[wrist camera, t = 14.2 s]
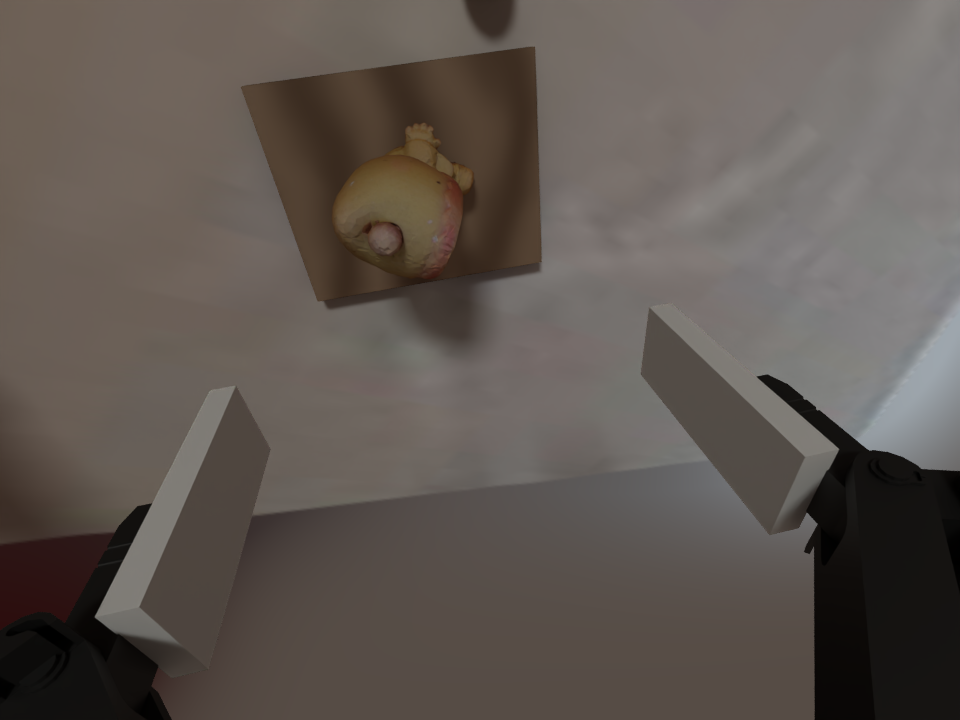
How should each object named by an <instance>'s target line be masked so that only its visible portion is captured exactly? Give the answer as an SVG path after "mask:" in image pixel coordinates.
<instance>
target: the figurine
mask: <svg viewBox="0 0 960 720" xmlns="http://www.w3.org/2000/svg"><path fill="white" fill-rule="evenodd" d="M433 131H434V129H433V127H432V126H430V125H428V124H426V123H421V124H419V123H415V124H414V125H413V127H411V126H408V127H407V128H406V129H405V143H406V144H405V146H399V147H397V148H394V149H393V150H391V151H390V152H388V153H386V154H385V155H384V156H381V157H378V158H374V159H371V160H369V161H367V162H365V163H363V164H362V165H361V166H359V167H358V168H357V169H356V170H355V171H354V172H353V173H352V174H351V176H350V177H349V178H348V180H347V181H346V183H345V184H344V186H343V187H342V189H341V190H340V192H339V193H338V195H337V197H336V199H335V201H334V204H333V207H332V224H333V228H334V232H335V234H336V236H337V238H338V240H339V241H340V242H341V243H342V245H343V246H344V247H345V248H346V249H347V250H348V251H349V252H350V253H351V254H353V255H354V256H355V257H357V258H358V259H360V260H362V261H364V262H367V263H369V264H371V265H373V266H376V267H378V268H380V269H381V270H383V271H385V272H387V273H390V274H395V275H397V276H402V277H408V278H410V279H412V278H416V277H418V278H423V279H433V278H436V277H438V276H440V274H441V273H442V271H443V270H444V268H445V266H447V264H448V261H449V258H450V256H451V254H452V252H453V250H454V248H455V245H456V241H457V237H458V233H459V228H460V224H461V220H462V216H463V195H466V194H467V193H469V191H470V189H471V187H472V184H473V179H474V173H473V171H472V170H471V169H469V168H467V167H465V166H464V165H461V164H458V163H456V162H450V161H449V160H448V159H447V158H446V157H445V156H443V155H442V154H440V153H439V152H438V151H437V148H438V147H439V146H440V144H441V141H440V139H438V138H435V137H434V135H433Z"/></svg>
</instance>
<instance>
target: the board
mask: <svg viewBox="0 0 960 720" xmlns="http://www.w3.org/2000/svg"><path fill="white" fill-rule="evenodd" d="M241 89H242V92H243V94H244V97H245V100H246V103H247V106H248V108H249V111H250V114H251V117H252V119H253V122H254V125H255V128H256V131H257V133H258V136H259V139H260V142H261V145H262V147H263V150H264V153H265V156H266V158H267V161H268V164H269V167H270V170H271V172H272V175H273V178H274V181H275V184H276V186H277V189H278V192H279V195H280V198H281V200H282V203H283V206H284V209H285V211H286V214H287V217H288V220H289V223H290V225H291V228H292V231H293V234H294V237H295V239H296V242H297V245H298V248H299V251H300V253H301V256H302V259H303V262H304V264H305V267H306V270H307V273H308V276H309V278H310V281H311V284H312V287H313V290H314V292H315V295H316V298H317V301H324V300H330V299H335V298H341V297H347V296H352V295H358V294H363V293H369V292H375V291H380V290H386V289H392V288H397V287H403V286H409V285H414V284H420V283H426V282H431V281H437V280H443V279H448V278H454V277H460V276H465V275H471V274H476V273H482V272H488V271H493V270H499V269H505V268H510V267H516V266H522V265H527V264H533V263H539V262H542V261H541V228H540V195H539V162H538V129H537V96H536V63H535V47H525V48H518V49H511V50H503V51H496V52H489V53H481V54H474V55H467V56H459V57H452V58H445V59H437V60H430V61H423V62H415V63H408V64H401V65H393V66H386V67H378V68H371V69H364V70H356V71H349V72H342V73H334V74H327V75H320V76H312V77H305V78H298V79H290V80H283V81H276V82H268V83H261V84H254V85H246V86H242V87H241ZM415 123H419V124H421V123H426V124H428V125H430V126H432V127H433V129H434V131H433V135H434V137H435V138H438V139H440V141H441V144H440V146H439V147H438V148H437V151H438V152H439V153H440V154H442V155H443V156H445V157H446V158H447V159H448V160H449V161H450V162H456V163H458V164H461V165H464V166H465V167H467V168H469V169H471V170H472V171H473V173H474V179H473V184H472V187H471V189H470V191H469V193H467V194H466V195H463V216H462V220H461V224H460V228H459V233H458V237H457V241H456V245H455V248H454V250H453V252H452V254H451V256H450V258H449V261H448V264H447V266H445V268H444V270H443V271H442V273H441V274H440V276H438V277H436V278H433V279H423V278H418V277H416V278H412V279H410V278H408V277H402V276H397V275H395V274H390V273H387V272H385V271H383V270H381V269H380V268H378V267H376V266H373V265H371V264H369V263H367V262H364V261H362V260H360V259H358V258H357V257H355V256H354V255H353V254H351V253H350V252H349V251H348V250H347V249H346V248H345V247H344V246H343V245H342V243H341V242H340V241H339V240H338V238H337V236H336V234H335V232H334V228H333V224H332V207H333V204H334V201H335V199H336V197H337V195H338V193H339V192H340V190H341V189H342V187H343V186H344V184H345V183H346V181H347V180H348V178H349V177H350V176H351V174H352V173H353V172H354V171H355V170H356V169H357V168H358V167H359V166H361V165H362V164H363V163H365V162H367V161H369V160H371V159H374V158H378V157H381V156H384V155H385V154H386V153H388V152H390V151H391V150H393V149H394V148H397V147H399V146H405V144H406V143H405V129H406V128H407V127H408V126H411V127H413V125H414V124H415Z"/></svg>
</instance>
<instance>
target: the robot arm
mask: <svg viewBox="0 0 960 720" xmlns="http://www.w3.org/2000/svg"><path fill="white" fill-rule="evenodd" d="M641 375H642V376H643V378H644V379H645V380H646V381H647V383H648V384H649V385H650V386H651V388H652V389H653V390H654V391H655V393H656V394H657V395H658V396H659V398H660V399H661V400H662V401H663V403H664V404H665V405H666V406H667V408H668V409H669V410H670V411H671V413H672V414H673V415H674V416H675V418H676V419H677V420H678V421H679V423H680V424H681V425H682V426H683V428H684V429H685V430H686V431H687V433H688V434H689V435H690V436H691V438H692V439H693V440H694V441H695V443H696V444H697V445H698V446H699V448H700V449H701V450H702V451H703V453H704V454H705V455H706V456H707V458H708V459H709V460H710V461H711V462H712V464H713V465H714V466H715V468H716V469H717V470H718V471H719V473H720V474H721V475H722V476H723V478H724V479H725V480H726V481H727V483H728V484H729V485H730V486H731V488H732V489H733V490H734V491H735V493H736V494H737V495H738V496H739V498H740V499H741V500H742V501H743V503H744V504H745V505H746V506H747V508H748V509H749V510H750V511H751V513H752V514H753V515H754V516H755V518H756V519H757V520H758V521H759V522H760V524H761V525H762V526H763V527H764V529H765V530H766V531H767V533H768V534H769V535H772V534H776V533H780V532H784V531H789V530H793V529H797V528H799V527H800V525H801V522H802V521H803V519H804V517H805V515H806V513H808V514H809V515H810V516H811V517H812V518H813V519H814V520H815V522H816V523H818V525H817V527H816V528H815V530H814V532H813V534H812V536H811V537H810V539H809V541H808V543H807V545H806V547H805V551H804V552H805V553H808V554H810V552H811V550H812V549H813V547H814V623H815V624H814V634H815V635H814V639H815V640H814V646H815V650H814V652H815V653H814V655H815V657H814V658H815V720H960V471H946V470H927V469H921V468H919V466H917V465H916V464H914V463H912V462H910V461H909V460H907V459H905V458H903V457H901V456H898V455H895V454H892V453H889V452H883V451H876V450H872V451H869V450H868V449H866V448H865V447H864V446H862V445H861V444H860V443H859V442H858V441H856V440H855V439H854V438H853V437H852V436H850V435H849V434H848V433H847V432H845V431H844V430H843V429H842V428H841V427H839V426H838V425H837V424H836V423H834V422H833V421H832V420H831V419H830V418H828V417H827V416H826V415H825V414H823V413H822V412H821V411H820V410H818V411H817V410H816V407H815V406H814V405H813V404H811V403H810V402H809V401H808V400H804V399H803V396H802V395H800V394H799V393H798V392H797V391H795V390H794V389H793V388H792V387H791V386H789V385H788V384H786V383H784V382H782V381H780V380H778V379H776V378H774V377H772V376H770V375H762V376H758V377H756V376H755V375H754V374H752V373H751V372H750V371H749V370H748V369H747V368H745V367H744V366H743V365H742V364H741V363H740V362H739V361H737V360H736V359H735V358H734V357H733V356H732V355H731V354H729V353H728V352H727V351H726V350H725V349H724V348H722V347H721V346H720V345H719V344H718V343H717V342H716V341H714V340H713V339H712V338H711V337H710V336H709V335H708V334H706V333H705V332H704V331H703V330H702V329H701V328H700V327H698V326H697V325H696V324H695V323H694V322H693V321H691V320H690V319H689V318H688V317H687V316H686V315H685V314H683V313H682V312H681V311H680V310H679V309H678V308H677V307H675V306H674V305H673V304H672V303H669V304H664V305H658V306H653V307H649V313H648V321H647V329H646V337H645V344H644V352H643V360H642V368H641ZM269 453H270V447H269V445H268V444H267V442H266V440H265V438H264V436H263V434H262V433H261V431H260V429H259V427H258V425H257V423H256V422H255V420H254V418H253V416H252V414H251V412H250V410H249V409H248V407H247V405H246V403H245V401H244V399H243V398H242V396H241V394H240V392H239V390H238V388H237V387H236V386H231V387H226V388H221V389H215V390H210V391H209V393H208V395H207V397H206V399H205V401H204V403H203V405H202V407H201V409H200V411H199V413H198V415H197V417H196V419H195V421H194V423H193V425H192V427H191V428H190V430H189V432H188V434H187V436H186V438H185V440H184V442H183V444H182V446H181V448H180V450H179V452H178V454H177V456H176V458H175V460H174V462H173V464H172V466H171V468H170V470H169V472H168V474H167V476H166V478H165V480H164V482H163V484H162V486H161V488H160V490H159V491H158V493H157V495H156V497H155V499H154V501H153V503H151V504H146V505H142V506H137V507H136V508H135V509H134V511H133V512H132V513H131V514H130V515H129V516H128V517H127V518H126V519H125V520H124V521H123V522H122V523H121V524H120V525H119V527H118V528H117V530H116V532H115V534H114V536H113V537H112V539H111V541H110V543H109V545H108V550H107V551H105V552H104V554H103V556H102V557H101V559H100V561H99V563H98V568H96V569H95V570H94V572H93V574H92V575H91V577H90V579H89V581H88V583H87V584H86V586H85V588H84V590H83V592H82V594H81V595H80V597H79V599H78V601H77V602H76V604H75V606H74V608H73V610H72V611H71V613H70V615H69V617H68V619H67V620H66V622H65V623H64V622H62V621H61V620H60V619H58V618H57V617H56V616H54V615H53V614H51V613H46V612H37V613H34V614H31V615H27V616H24V617H22V618H20V619H18V620H17V621H15V622H13V623H11V624H9V625H7V626H6V627H4V628H3V629H2V630H0V720H172V719H171V717H170V715H169V713H168V711H167V709H166V707H165V705H164V703H163V701H162V699H161V697H160V695H159V693H158V692H157V691H156V690H155V689H154V688H153V687H152V686H151V685H152V682H153V679H154V677H155V674H156V671H157V668H160V669H161V670H162V671H164V672H165V673H166V674H167V675H169V676H170V677H171V678H175V677H179V676H184V675H188V674H191V673H196V672H200V671H204V670H208V669H209V667H210V663H211V660H212V656H213V652H214V649H215V645H216V642H217V638H218V635H219V631H220V628H221V624H222V620H223V617H224V613H225V610H226V606H227V603H228V599H229V595H230V592H231V588H232V585H233V581H234V578H235V574H236V570H237V567H238V563H239V560H240V556H241V553H242V549H243V545H244V542H245V538H246V535H247V531H248V528H249V524H250V521H251V517H252V513H253V510H254V506H255V503H256V499H257V496H258V492H259V488H260V485H261V481H262V478H263V474H264V471H265V467H266V463H267V460H268V456H269Z"/></svg>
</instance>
